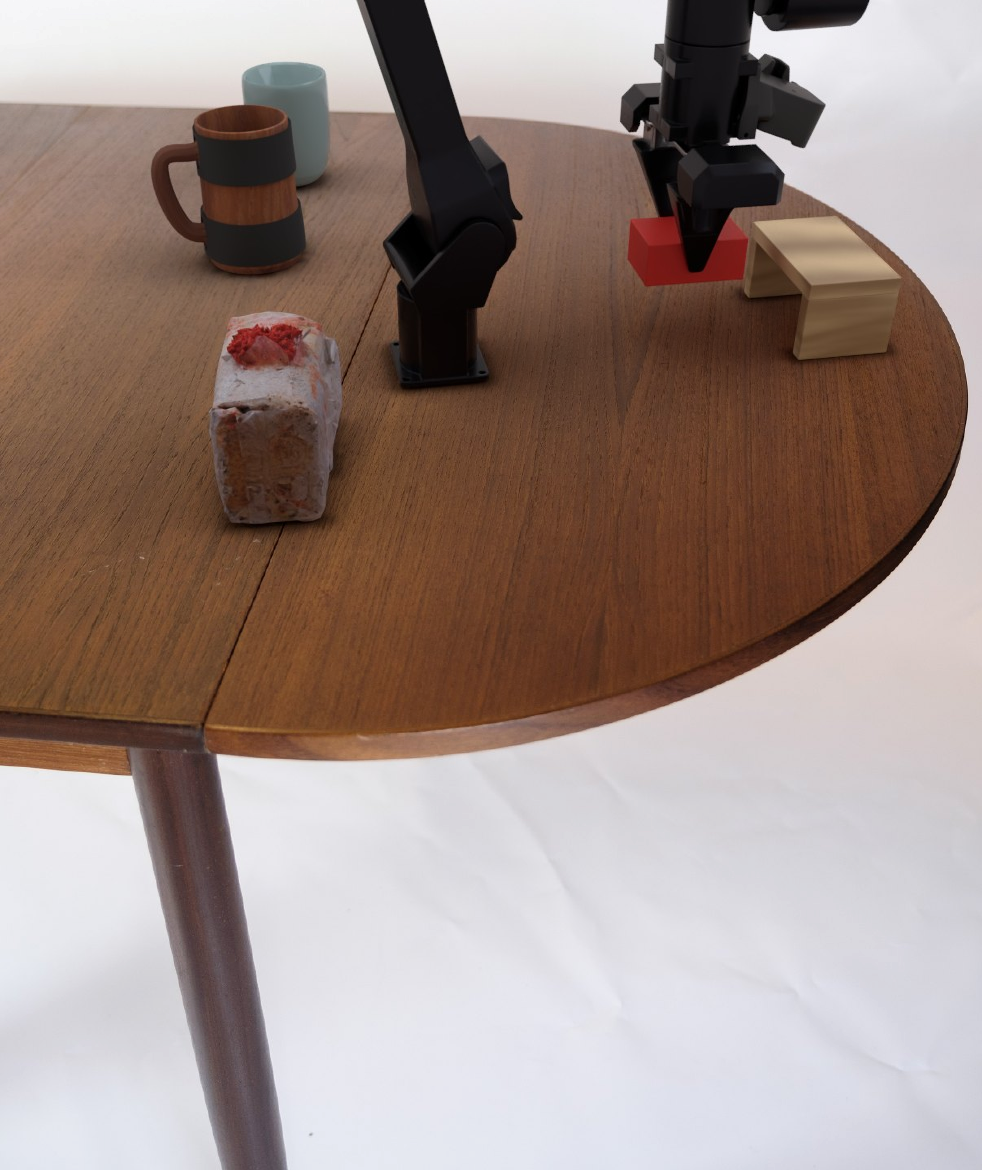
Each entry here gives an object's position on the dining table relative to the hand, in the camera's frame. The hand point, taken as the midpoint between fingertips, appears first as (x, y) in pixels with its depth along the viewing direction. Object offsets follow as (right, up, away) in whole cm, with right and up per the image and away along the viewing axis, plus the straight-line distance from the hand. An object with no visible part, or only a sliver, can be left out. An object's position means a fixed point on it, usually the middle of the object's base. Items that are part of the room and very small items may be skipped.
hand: (684, 257), depth 95 cm
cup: (-34, +15, +29) cm, 47 cm away
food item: (-28, -17, -12) cm, 35 cm away
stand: (+11, -4, +5) cm, 13 cm away
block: (0, -1, +1) cm, 1 cm away
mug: (-36, +3, +14) cm, 39 cm away
